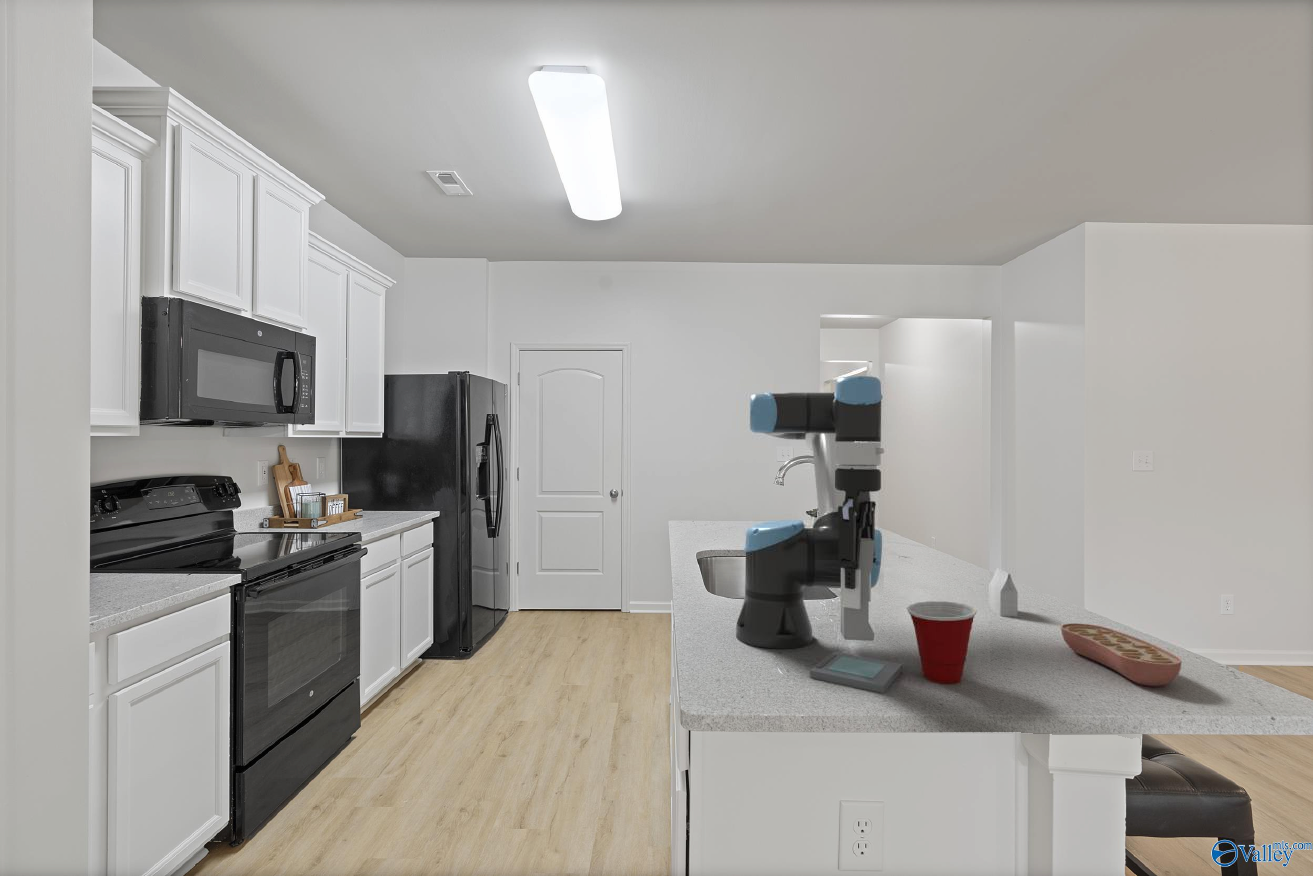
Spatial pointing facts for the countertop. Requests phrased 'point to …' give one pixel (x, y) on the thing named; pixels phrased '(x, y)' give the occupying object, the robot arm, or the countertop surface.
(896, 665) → the pad
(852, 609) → the vintage mobile phone
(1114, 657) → the anatomical model
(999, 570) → the white house shaped block
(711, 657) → the countertop surface
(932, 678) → the plastic cup
